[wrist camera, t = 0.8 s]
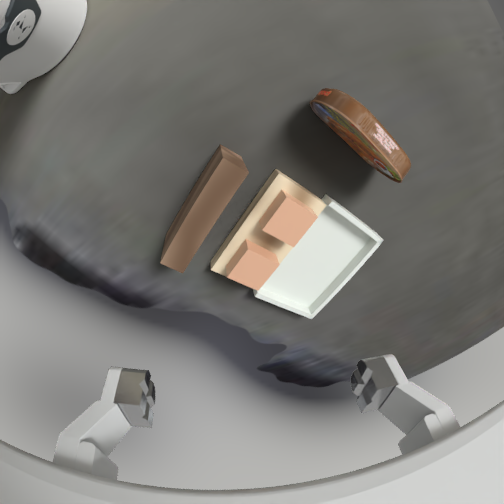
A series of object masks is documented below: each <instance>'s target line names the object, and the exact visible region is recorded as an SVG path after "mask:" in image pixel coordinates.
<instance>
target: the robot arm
mask: <svg viewBox="0 0 504 504" xmlns="http://www.w3.org/2000/svg"><path fill="white" fill-rule="evenodd" d="M86 12H87V1H86V0H0V87H1V88H2V89H3V90H4V91H5V92H6V93H8V94H14V93H16V92H17V91H19V90H20V89H21V88H22V87H23V86H24V85H25V84H26V83H27V82H28V81H29V80H31V79H34V78H36V77H39V76H41V75H43V74H45V73H46V72H48V71H49V70H51V69H52V68H53V67H55V66H56V65H57V64H58V63H59V62H60V61H61V60H62V59H63V58H64V57H65V56H66V54H67V53H68V52H69V51H70V49H71V48H72V46H73V45H74V43H75V42H76V40H77V38H78V36H79V34H80V32H81V30H82V28H83V25H84V22H85V18H86ZM356 366H357V368H358V369H356V370H355V371H354V372H353V373H352V376H351V387H352V390H353V393H355V394H356V395H357V396H358V398H357V404H358V406H359V409H360V411H361V413H365V412H369V411H374V410H378V409H379V411H380V412H381V413H382V414H383V415H384V416H385V417H386V418H388V419H389V420H390V421H391V422H392V423H393V424H394V425H396V426H397V427H398V428H399V429H400V430H401V431H402V432H404V433H405V434H406V436H405V437H404V438H403V439H402V440H401V441H400V442H399V444H398V445H399V447H400V450H401V452H402V455H400V456H398V457H395V458H393V459H390V460H387V461H384V462H381V463H378V464H375V465H372V466H369V467H366V468H363V469H359V470H356V471H353V472H349V473H345V474H341V475H337V476H332V477H328V478H324V479H319V480H314V481H309V482H303V483H297V484H290V485H284V486H276V487H266V488H254V489H238V490H193V489H175V488H165V487H156V486H148V485H141V484H134V483H128V482H123V481H118V480H117V473H118V467H117V466H116V464H114V463H113V462H112V461H111V460H110V459H109V458H108V455H109V454H110V453H111V452H112V451H113V449H114V448H115V447H116V445H117V444H118V443H119V442H120V441H121V440H122V438H123V437H124V436H125V435H126V433H127V432H128V431H129V430H130V428H131V426H135V427H147V428H152V422H153V412H152V409H151V407H152V406H153V405H154V404H155V386H154V383H153V382H152V381H151V380H150V377H151V375H150V372H149V370H137V369H127V368H120V367H110V369H109V370H108V374H107V377H106V381H105V384H104V388H103V392H102V395H101V399H100V401H96V402H95V403H93V404H92V405H91V406H90V407H89V408H88V409H87V410H86V411H85V412H83V413H82V414H81V415H80V416H79V417H78V418H77V419H76V420H74V421H73V422H72V423H71V424H70V425H69V426H68V427H67V428H66V429H65V430H63V431H62V432H61V433H60V435H59V438H58V442H57V446H56V450H55V455H54V459H53V462H50V461H47V460H45V459H42V458H40V457H37V456H34V455H32V454H30V453H27V452H25V451H23V450H20V449H18V448H16V447H14V446H12V445H10V444H8V443H6V442H4V441H2V440H0V504H504V401H502V402H500V403H499V404H497V405H496V406H495V407H493V408H492V409H490V410H489V411H487V412H485V413H484V414H483V415H481V416H479V417H477V418H476V419H474V420H472V421H471V422H469V423H467V424H466V425H464V426H462V427H460V426H459V424H458V422H457V420H456V418H455V416H454V414H453V412H452V410H451V408H450V406H449V405H447V404H446V403H444V402H443V401H441V400H439V399H438V398H436V397H434V396H433V395H431V394H430V393H428V392H427V391H425V390H424V389H422V388H421V387H419V386H418V385H416V384H414V383H413V382H408V380H407V378H406V376H405V374H404V373H403V371H402V369H401V367H400V365H399V364H398V362H397V360H396V358H395V357H394V355H392V354H388V355H384V356H377V357H372V358H367V359H362V360H360V361H358V363H357V365H356Z"/></svg>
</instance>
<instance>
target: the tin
mask: <svg viewBox="0 0 504 504" xmlns="http://www.w3.org/2000/svg"><path fill="white" fill-rule="evenodd" d="M310 106H311V108H312V110H313V111H314V112H315V114H316V115H317V116H318V117H319V118H320V119H321V120H323V121H324V122H325V123H326V124H327V125H328V126H329V127H330V128H331V129H332V130H334V131H335V132H336V133H337V134H338V135H339V136H340V137H341V138H342V139H343V140H344V141H345V142H346V143H347V144H348V145H349V146H351V147H352V148H353V149H354V150H355V151H356V152H357V153H358V154H359V155H360V156H361V157H362V158H363V159H364V160H365V161H366V162H367V163H369V164H370V165H371V166H372V167H374V168H375V169H376V170H377V171H379V172H380V173H382V174H383V175H385V176H386V177H388V178H389V179H391V180H393V181H395V182H398V183H401V182H402V179H403V178H404V177H405V175H406V174H407V173H408V171H409V169H410V168H411V163H410V160H409V158H408V156H407V155H406V153H405V152H404V151H403V149H402V148H401V147H400V146H399V144H398V143H397V142H396V141H395V140H394V138H393V137H392V136H391V135H390V134H389V132H388V131H387V130H386V129H385V128H384V127H383V126H382V124H381V123H380V122H379V121H378V120H377V119H376V118H375V117H374V116H373V115H372V114H371V112H370V111H369V110H368V109H367V108H365V107H364V106H363V105H362V104H361V103H360V102H358V101H357V100H356V99H354V98H353V97H351V96H349V95H348V94H346V93H344V92H342V91H340V90H337V89H328V88H325V89H322V90H321V91H320V92H319V93H318V94H317V96H316V97H315V98H314V99H313V100H312V101H310Z"/></svg>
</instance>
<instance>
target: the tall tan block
mask: <svg viewBox="0 0 504 504" xmlns="http://www.w3.org/2000/svg"><path fill="white" fill-rule="evenodd" d="M248 173H249V172H248V170H247V168H246V166H245V164H244V162H243V159H242V157H241V156H239V155H237V154H236V153H234V152H232V151H231V150H229V149H227V148H226V147H224V146H222V145H220V146H219V147H218V149H217V150H216V152H215V153H214V155H213V156H212V158H211V160H210V161H209V163H208V164H207V166H206V167H205V169H204V171H203V172H202V174H201V175H200V177H199V179H198V180H197V182H196V184H195V185H194V187H193V189H192V190H191V192H190V194H189V195H188V197H187V199H186V200H185V202H184V204H183V205H182V207H181V209H180V211H179V212H178V214H177V216H176V218H175V219H174V221H173V223H172V225H171V227H170V228H169V230H168V232H167V234H166V238H165V242H164V247H163V251H162V256H161V261H160V263H161V264H163V265H165V266H167V267H170V268H172V269H174V270H176V271H179V272H181V273H183V272H184V271H185V269H186V268H187V266H188V264H189V263H190V261H191V260H192V258H193V256H194V255H195V253H196V252H197V250H198V249H199V247H200V245H201V244H202V242H203V241H204V239H205V238H206V236H207V235H208V233H209V231H210V230H211V228H212V227H213V225H214V224H215V222H216V221H217V219H218V218H219V216H220V215H221V213H222V212H223V210H224V209H225V207H226V206H227V204H228V203H229V201H230V200H231V198H232V197H233V195H234V194H235V192H236V191H237V189H238V188H239V186H240V185H241V184H242V182H243V181H244V179H245V178H246V176H247V175H248Z"/></svg>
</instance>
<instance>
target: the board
mask: <svg viewBox="0 0 504 504" xmlns="http://www.w3.org/2000/svg"><path fill="white" fill-rule="evenodd" d="M281 190H284V191H285V192H287V193H288V194H290V195H291V196H293V197H294V198H296V199H298V200H299V201H301V202H302V203H304V204H305V205H307V206H308V207H310V208H311V209H312V210H313V211H314V212H315V214H316V215H317V216H319V214H320V213H321V212H322V211H323V209H324V208H325V207H326V206H327V205H326V204H325V203H324V202H323V201H322V200H321V199H320V198H318V197H317V196H316V195H314V194H313V193H311V192H310V191H308V190H307V189H305V188H304V187H302V186H301V185H300V184H298V183H297V182H295V181H294V180H292V179H291V178H289V177H288V176H286V175H284V174H283V173H281V172H280V171H278V170H277V169H275V170H274V171H273V173H272V174H271V175H270V177H269V178H268V180H267V181H266V182H265V184H264V185H263V187H262V188H261V189H260V191H259V192H258V194H257V195H256V197H255V198H254V199H253V201H252V202H251V204H250V205H249V206H248V208H247V209H246V211H245V212H244V214H243V215H242V216H241V218H240V219H239V221H238V222H237V224H236V225H235V227H234V228H233V229H232V231H231V232H230V234H229V235H228V237H227V238H226V240H225V241H224V243H223V244H222V245H221V247H220V248H219V250H218V251H217V253H216V254H215V256H214V257H213V259H212V260H211V270H212V271H214V272H217V273H219V274H221V275H224V276H226V277H227V273H226V265H227V264H228V262H229V261H230V260H231V258H232V257H233V256H234V254H235V253H236V251H237V250H238V249H239V247H240V246H241V244H242V243H243V242H244V240H245V239H247V240H249V241H251V242H253V243H255V244H257V245H259V246H261V247H263V248H265V249H267V250H269V251H271V252H273V253H275V254H276V256H277V259H278V261H279V264H280V263H281V262H282V261H283V259H284V258H285V257H286V256H287V254H288V253H289V252H290V251H291V249H292V248H293V247H292V246H290V245H288V244H286V243H285V242H283V241H281V240H279V239H277V238H275V237H274V236H272V235H270V234H268V233H266V232H264V231H263V230H262V229H261V226H260V223H259V220H260V218H261V217H262V216H263V214H264V213H265V211H266V210H267V209H268V207H269V206H270V205H271V203H272V202H273V200H274V199H275V198H276V196H277V195H278V194H279V192H280V191H281Z"/></svg>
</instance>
